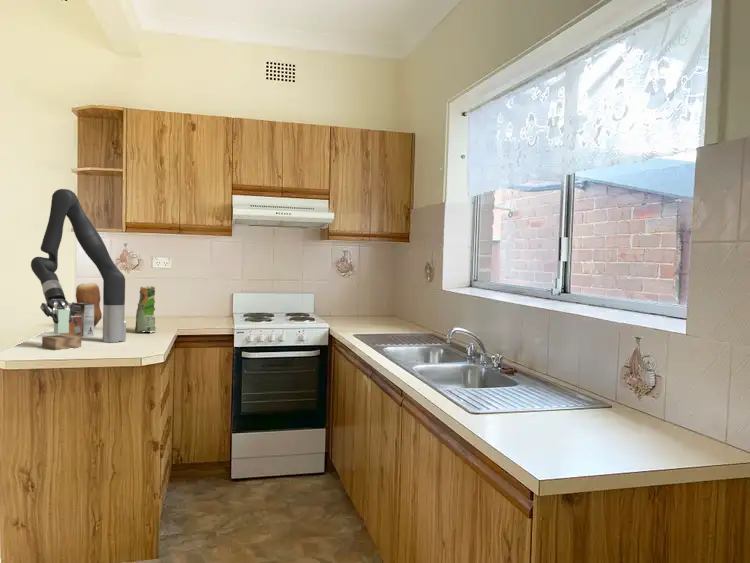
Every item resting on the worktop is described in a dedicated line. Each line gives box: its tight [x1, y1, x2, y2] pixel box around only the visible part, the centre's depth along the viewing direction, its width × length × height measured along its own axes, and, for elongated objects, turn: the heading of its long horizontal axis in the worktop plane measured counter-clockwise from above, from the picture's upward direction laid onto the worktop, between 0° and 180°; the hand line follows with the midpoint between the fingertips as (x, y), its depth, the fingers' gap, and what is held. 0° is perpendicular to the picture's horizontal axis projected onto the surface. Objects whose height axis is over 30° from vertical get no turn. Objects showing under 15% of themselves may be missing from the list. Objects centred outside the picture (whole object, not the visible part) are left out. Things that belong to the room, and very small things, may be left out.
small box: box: [62, 316, 82, 338], centre depth 283 cm, size 8×6×10 cm
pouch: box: [134, 285, 157, 333], centre depth 310 cm, size 11×12×25 cm
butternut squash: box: [75, 282, 103, 328], centre depth 320 cm, size 14×13×25 cm
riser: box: [41, 334, 82, 351], centre depth 253 cm, size 11×11×5 cm
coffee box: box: [73, 302, 95, 337], centre depth 294 cm, size 9×6×16 cm
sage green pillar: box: [53, 308, 70, 334], centre depth 252 cm, size 4×4×10 cm
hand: (63, 322), depth 251 cm, fingers closed on sage green pillar, 4 cm apart
